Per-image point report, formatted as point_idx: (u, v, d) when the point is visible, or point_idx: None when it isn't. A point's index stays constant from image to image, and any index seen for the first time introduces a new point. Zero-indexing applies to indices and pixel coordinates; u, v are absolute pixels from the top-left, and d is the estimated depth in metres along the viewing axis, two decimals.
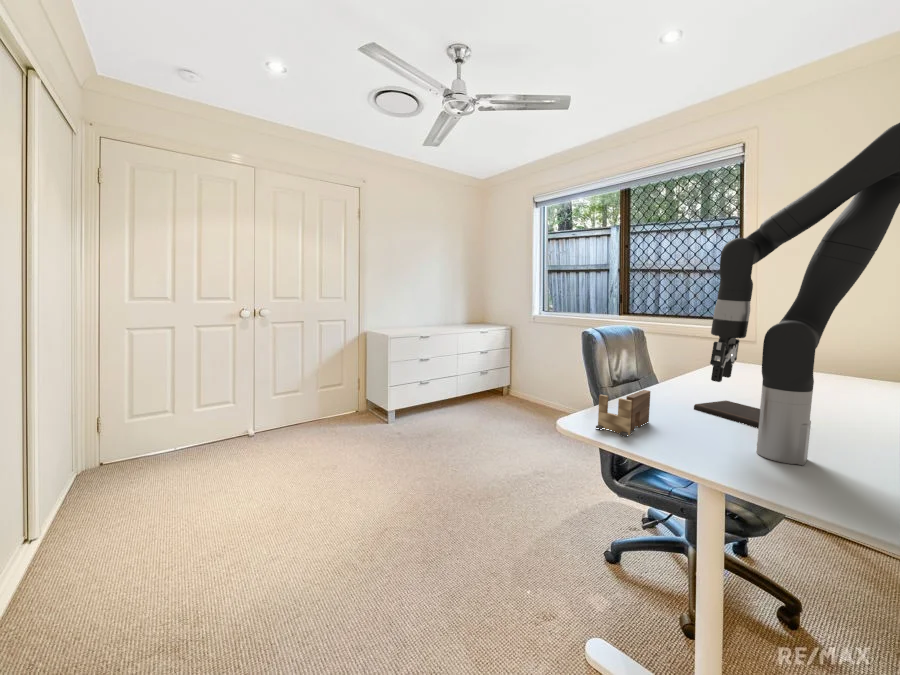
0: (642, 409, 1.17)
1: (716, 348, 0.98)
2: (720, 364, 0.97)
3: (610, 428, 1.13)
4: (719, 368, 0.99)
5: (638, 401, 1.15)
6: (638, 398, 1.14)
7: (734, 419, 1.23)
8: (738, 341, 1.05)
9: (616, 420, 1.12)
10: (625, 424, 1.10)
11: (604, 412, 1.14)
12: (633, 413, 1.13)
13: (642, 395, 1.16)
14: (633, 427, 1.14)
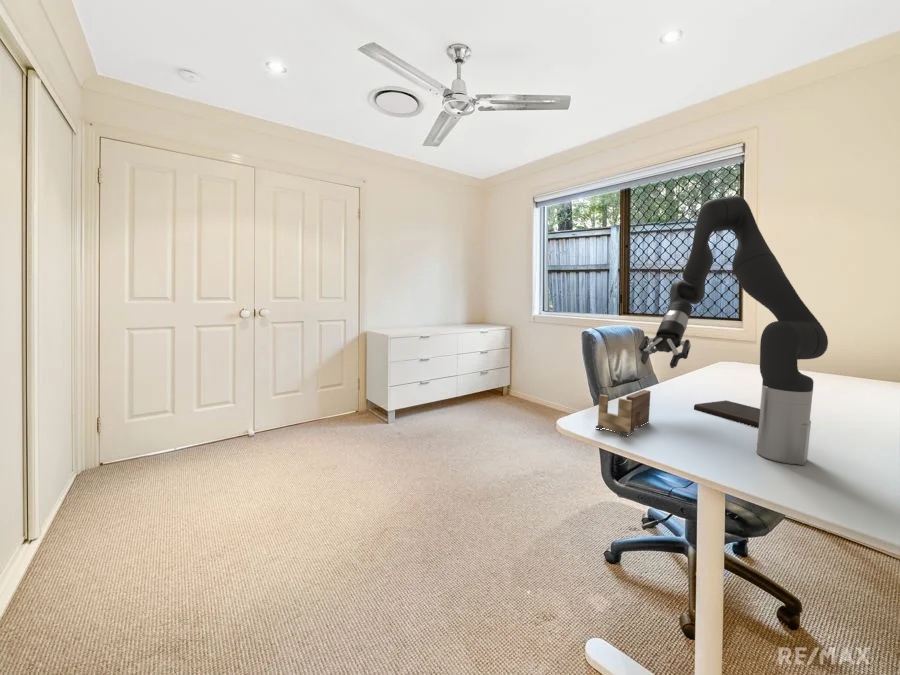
0: (642, 409, 1.17)
1: None
2: None
3: (610, 428, 1.13)
4: (643, 352, 1.30)
5: (638, 401, 1.15)
6: (638, 398, 1.14)
7: (734, 419, 1.23)
8: (686, 340, 1.24)
9: (616, 420, 1.12)
10: (625, 424, 1.10)
11: (604, 412, 1.14)
12: (633, 413, 1.13)
13: (642, 395, 1.16)
14: (633, 427, 1.14)
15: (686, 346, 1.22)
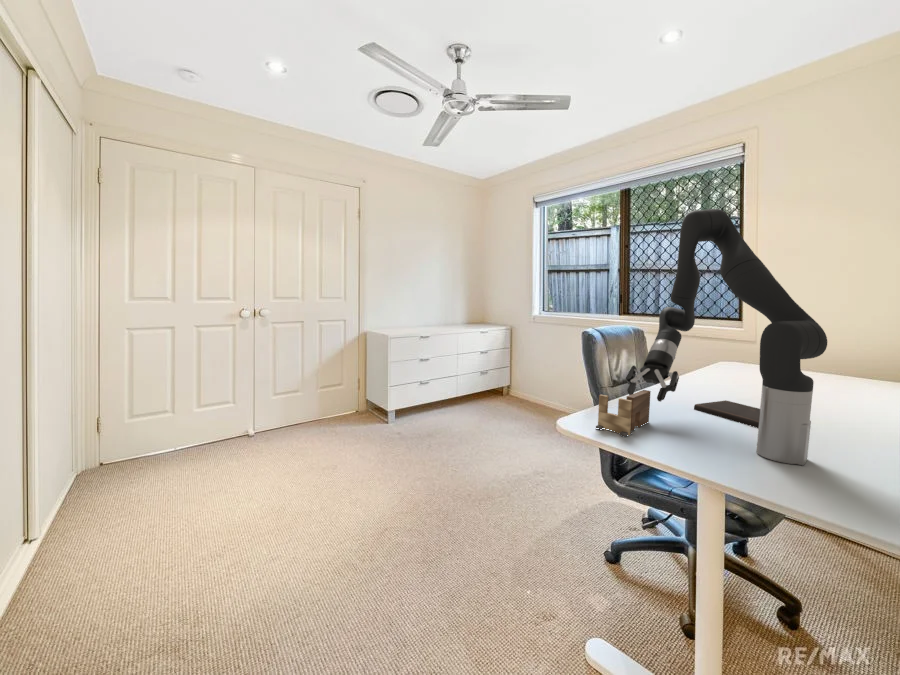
0: (642, 409, 1.17)
1: None
2: None
3: (610, 428, 1.13)
4: (630, 383, 1.25)
5: (638, 401, 1.15)
6: (638, 398, 1.14)
7: (735, 419, 1.23)
8: (674, 372, 1.19)
9: (616, 420, 1.12)
10: (625, 424, 1.10)
11: (604, 412, 1.14)
12: (633, 413, 1.13)
13: (642, 395, 1.16)
14: (633, 427, 1.14)
15: (674, 378, 1.17)
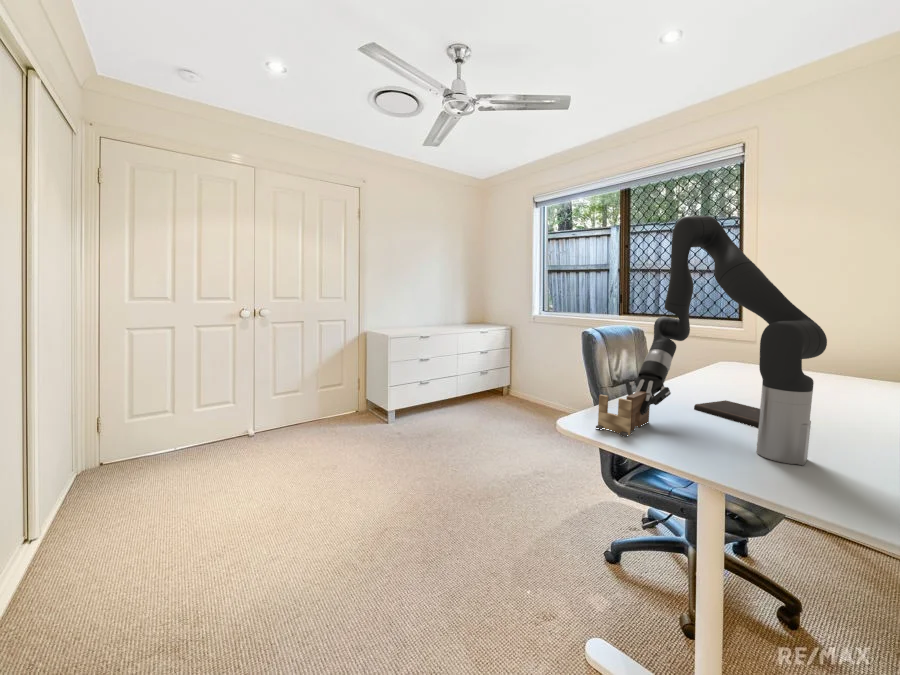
0: None
1: None
2: None
3: (610, 428, 1.13)
4: None
5: (638, 401, 1.15)
6: (638, 397, 1.14)
7: (735, 419, 1.23)
8: (666, 388, 1.16)
9: (616, 420, 1.12)
10: (625, 424, 1.10)
11: (604, 412, 1.14)
12: (633, 413, 1.13)
13: (642, 395, 1.16)
14: (633, 427, 1.14)
15: (661, 394, 1.16)
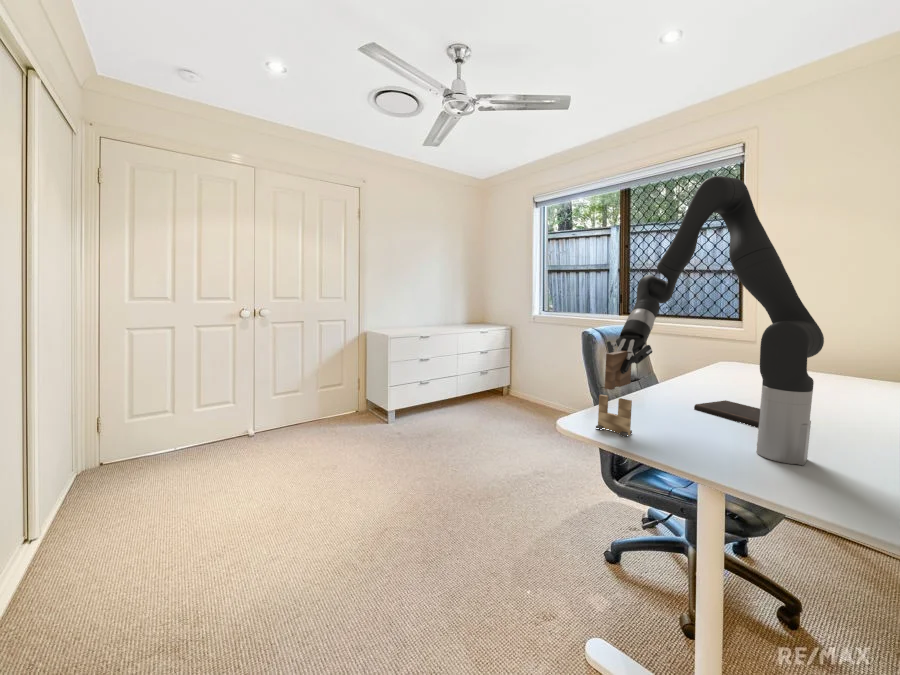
0: None
1: None
2: None
3: (610, 428, 1.13)
4: None
5: (619, 359, 1.11)
6: (618, 355, 1.10)
7: (735, 419, 1.23)
8: (647, 345, 1.12)
9: (616, 420, 1.12)
10: (625, 424, 1.10)
11: (604, 412, 1.14)
12: (613, 371, 1.09)
13: (623, 353, 1.12)
14: (613, 386, 1.10)
15: (642, 351, 1.12)
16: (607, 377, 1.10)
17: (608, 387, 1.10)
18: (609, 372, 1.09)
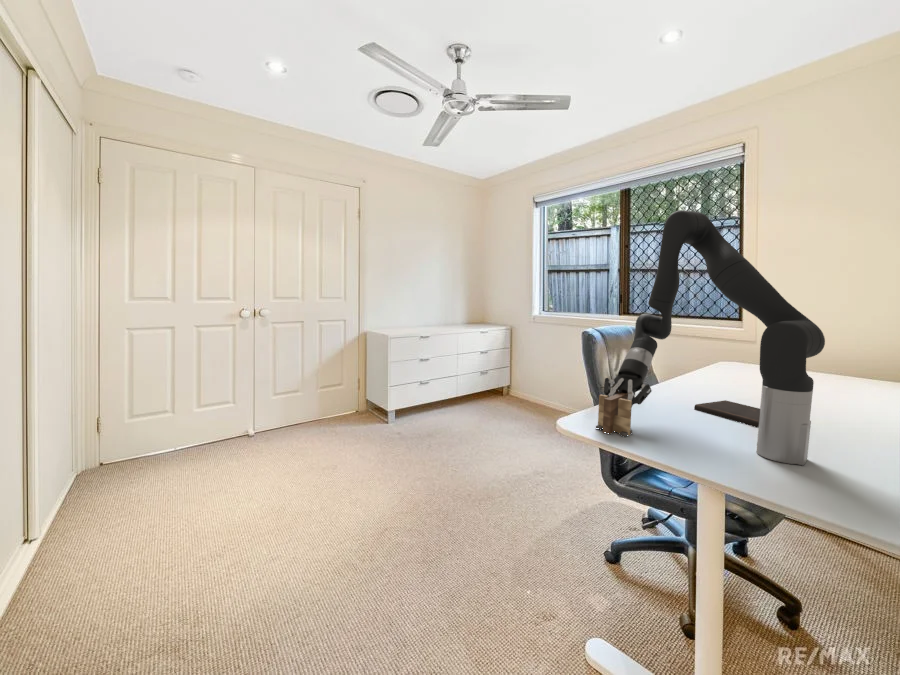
0: None
1: None
2: None
3: None
4: None
5: (616, 404, 1.12)
6: (616, 400, 1.12)
7: (736, 420, 1.23)
8: (646, 385, 1.13)
9: (616, 420, 1.12)
10: (625, 424, 1.10)
11: None
12: (611, 416, 1.11)
13: (620, 397, 1.14)
14: (611, 430, 1.11)
15: (643, 392, 1.12)
16: (605, 422, 1.11)
17: (606, 432, 1.11)
18: (607, 417, 1.11)
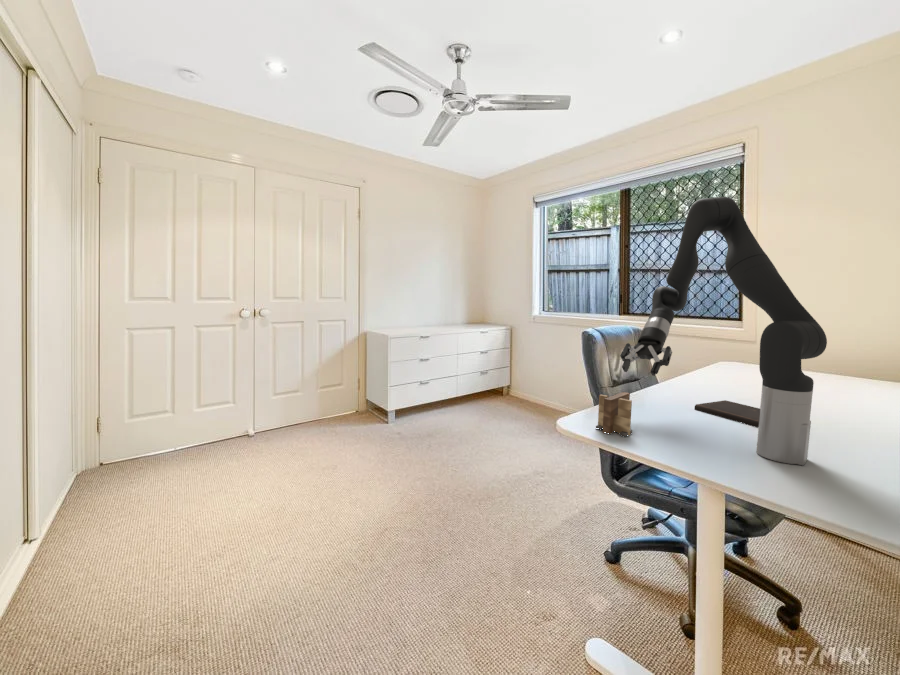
0: None
1: None
2: None
3: None
4: (624, 360, 1.27)
5: (616, 404, 1.12)
6: (616, 400, 1.12)
7: (736, 420, 1.23)
8: (667, 347, 1.21)
9: (616, 420, 1.12)
10: (625, 424, 1.10)
11: None
12: (611, 416, 1.11)
13: (620, 397, 1.14)
14: (611, 430, 1.11)
15: (667, 353, 1.20)
16: (605, 422, 1.11)
17: (606, 432, 1.11)
18: (607, 417, 1.11)
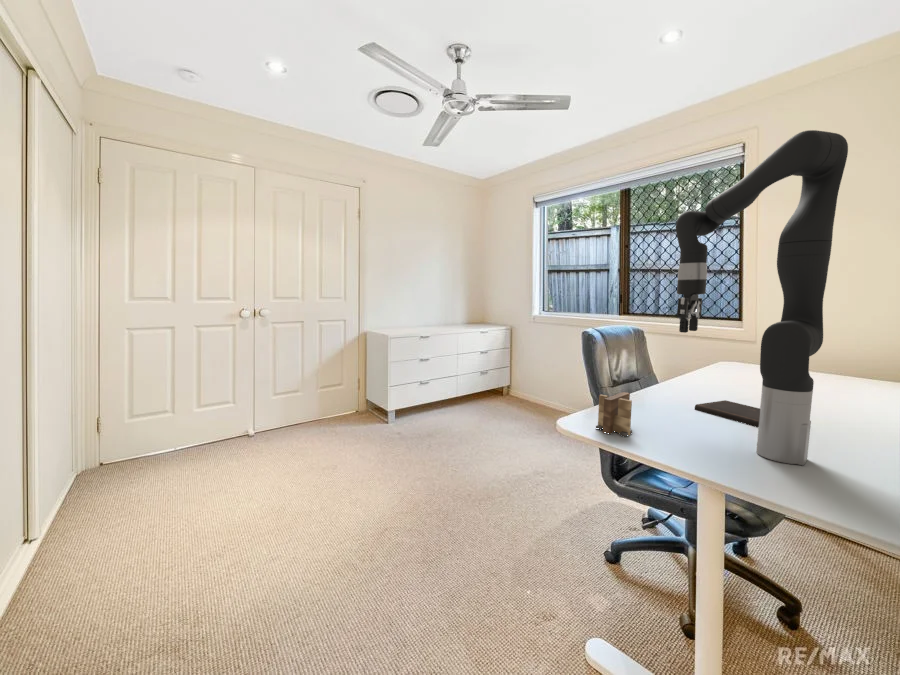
0: None
1: (680, 303, 1.16)
2: (685, 316, 1.15)
3: None
4: (685, 320, 1.17)
5: (616, 404, 1.12)
6: (616, 400, 1.12)
7: (736, 420, 1.23)
8: (701, 299, 1.23)
9: (616, 420, 1.12)
10: (625, 424, 1.10)
11: None
12: (611, 416, 1.11)
13: (620, 397, 1.14)
14: (611, 430, 1.11)
15: (701, 306, 1.24)
16: (605, 422, 1.11)
17: (606, 432, 1.11)
18: (607, 417, 1.11)
